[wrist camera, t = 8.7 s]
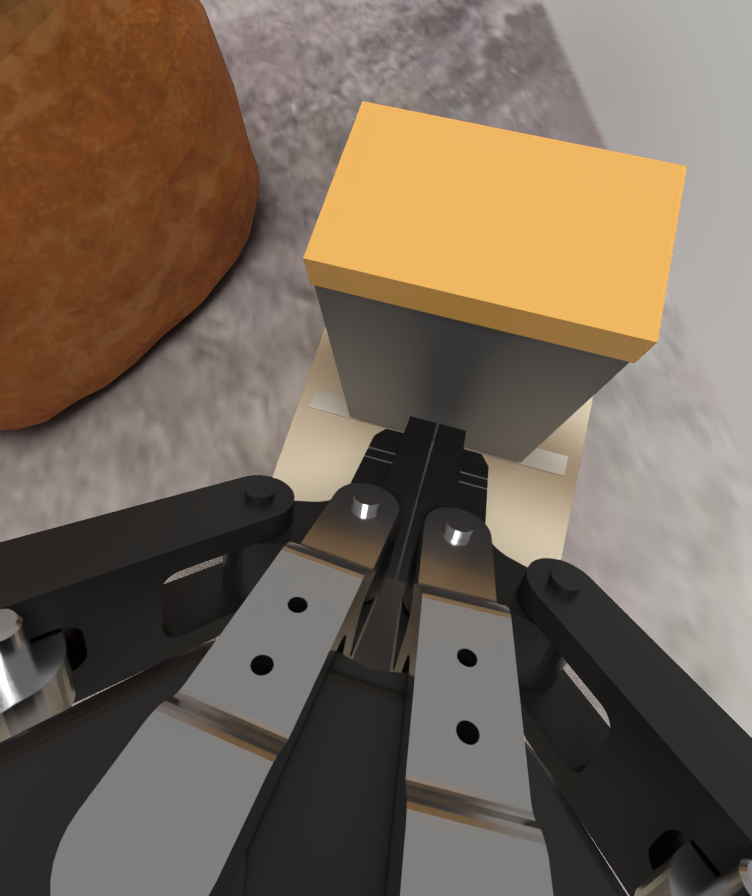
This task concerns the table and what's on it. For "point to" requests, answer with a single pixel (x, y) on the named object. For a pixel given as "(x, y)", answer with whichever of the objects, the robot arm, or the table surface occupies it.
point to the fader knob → (487, 273)
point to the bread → (110, 189)
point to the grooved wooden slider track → (508, 493)
